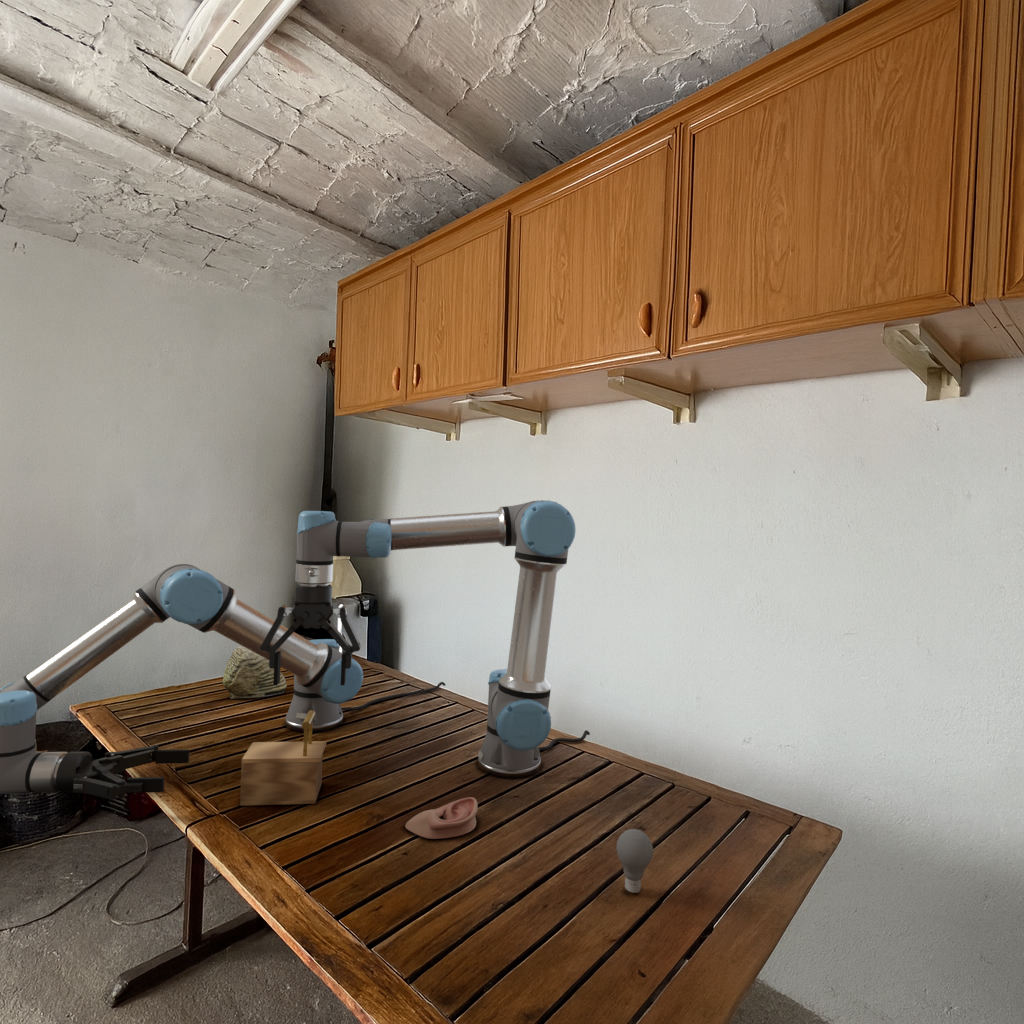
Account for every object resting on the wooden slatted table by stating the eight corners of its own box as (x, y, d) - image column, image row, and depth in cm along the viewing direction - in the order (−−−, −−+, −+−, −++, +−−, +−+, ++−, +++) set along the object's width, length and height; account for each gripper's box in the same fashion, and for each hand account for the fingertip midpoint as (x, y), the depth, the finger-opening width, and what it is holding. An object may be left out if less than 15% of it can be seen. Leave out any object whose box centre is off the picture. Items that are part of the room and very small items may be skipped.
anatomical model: (399, 813, 120) (420, 787, 131) (398, 834, 120) (419, 806, 131) (467, 823, 117) (482, 796, 128) (466, 845, 117) (481, 815, 128)
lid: (326, 745, 140) (327, 708, 139) (320, 761, 131) (321, 723, 131) (252, 746, 137) (254, 709, 137) (241, 763, 128) (243, 723, 128)
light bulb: (610, 879, 108) (613, 822, 108) (644, 879, 109) (647, 822, 109) (619, 902, 102) (622, 840, 102) (655, 901, 103) (658, 840, 103)
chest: (321, 784, 140) (323, 745, 139) (315, 803, 131) (316, 762, 131) (251, 785, 137) (252, 746, 137) (239, 805, 128) (241, 763, 128)
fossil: (218, 695, 195) (220, 647, 195) (278, 685, 208) (279, 640, 207) (228, 703, 189) (230, 653, 188) (289, 692, 201) (290, 645, 201)
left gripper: (95, 764, 140) (197, 762, 143) (25, 821, 115) (150, 818, 118) (96, 730, 140) (198, 729, 143) (26, 781, 115) (151, 778, 118)
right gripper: (247, 584, 128) (243, 688, 129) (372, 587, 132) (368, 688, 132) (256, 580, 136) (252, 678, 136) (375, 582, 139) (371, 678, 140)
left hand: (176, 769), depth 131 cm, fingers open, 13 cm apart
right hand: (310, 683), depth 134 cm, fingers open, 13 cm apart
